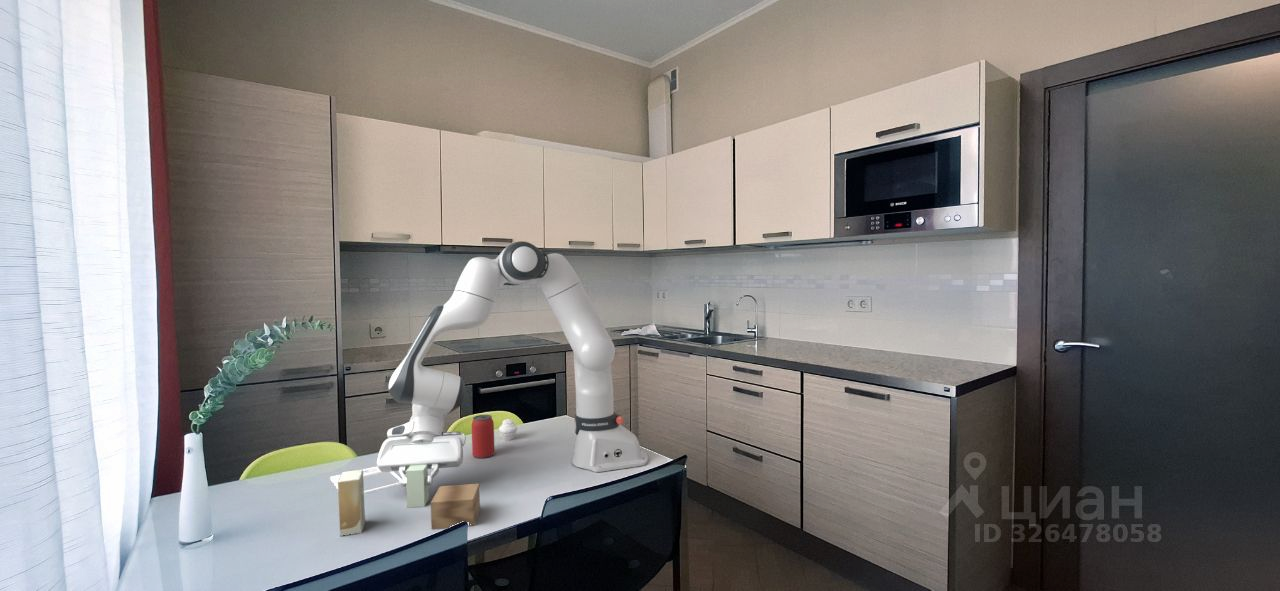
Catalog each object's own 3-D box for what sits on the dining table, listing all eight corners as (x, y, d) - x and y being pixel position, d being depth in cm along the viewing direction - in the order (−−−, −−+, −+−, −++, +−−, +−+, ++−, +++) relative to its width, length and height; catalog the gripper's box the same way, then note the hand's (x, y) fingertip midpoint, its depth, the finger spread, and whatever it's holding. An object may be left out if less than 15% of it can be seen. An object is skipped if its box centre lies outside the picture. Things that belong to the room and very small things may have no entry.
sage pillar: (428, 499, 133) (427, 464, 132) (424, 506, 129) (423, 470, 128) (411, 500, 132) (410, 465, 132) (407, 507, 128) (405, 471, 128)
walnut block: (479, 508, 127) (479, 483, 127) (473, 525, 118) (472, 499, 118) (440, 511, 126) (439, 486, 126) (431, 529, 117) (430, 502, 117)
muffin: (520, 436, 183) (519, 416, 183) (513, 442, 177) (513, 421, 177) (503, 436, 184) (502, 416, 184) (495, 441, 178) (495, 421, 178)
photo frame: (386, 463, 157) (404, 481, 143) (386, 467, 157) (404, 485, 143) (329, 476, 148) (343, 496, 134) (330, 480, 148) (343, 500, 134)
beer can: (497, 451, 168) (496, 414, 167) (489, 459, 161) (488, 420, 161) (477, 451, 168) (476, 414, 168) (469, 458, 162) (467, 419, 161)
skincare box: (344, 524, 120) (341, 471, 120) (365, 520, 122) (363, 468, 121) (339, 537, 114) (336, 481, 114) (361, 533, 116) (359, 478, 115)
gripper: (468, 436, 143) (462, 487, 134) (387, 441, 140) (376, 493, 131) (464, 425, 138) (458, 476, 129) (381, 430, 135) (369, 482, 126)
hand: (416, 485), depth 130 cm, fingers closed on sage pillar, 4 cm apart
